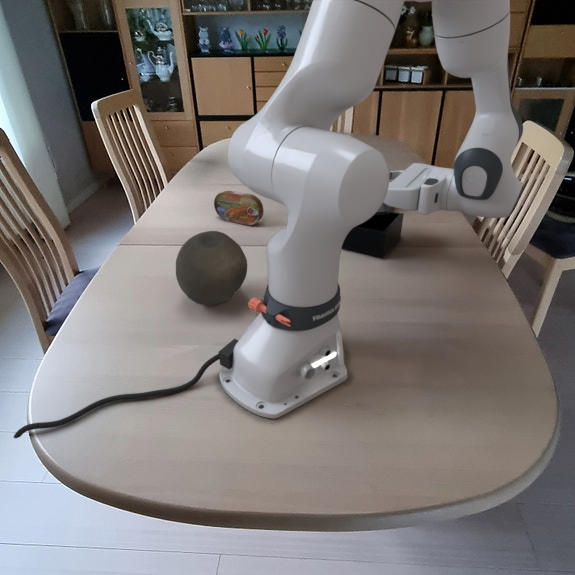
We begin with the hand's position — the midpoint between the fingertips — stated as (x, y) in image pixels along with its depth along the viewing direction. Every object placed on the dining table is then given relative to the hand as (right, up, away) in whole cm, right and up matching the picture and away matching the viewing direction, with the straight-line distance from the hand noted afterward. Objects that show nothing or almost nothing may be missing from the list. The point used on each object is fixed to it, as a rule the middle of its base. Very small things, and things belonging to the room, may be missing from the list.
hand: (379, 178), depth 104 cm
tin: (-35, -7, +23) cm, 42 cm away
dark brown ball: (-36, -28, -10) cm, 47 cm away
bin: (-2, -13, +11) cm, 17 cm away
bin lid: (-2, -6, +5) cm, 8 cm away
